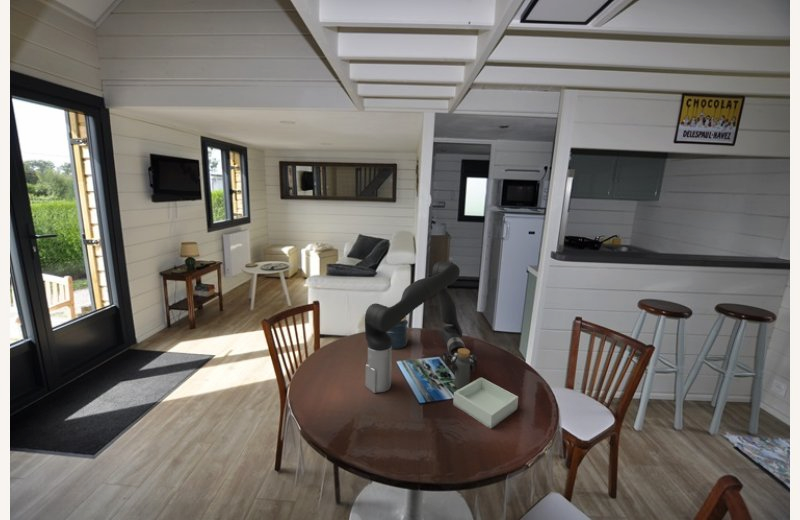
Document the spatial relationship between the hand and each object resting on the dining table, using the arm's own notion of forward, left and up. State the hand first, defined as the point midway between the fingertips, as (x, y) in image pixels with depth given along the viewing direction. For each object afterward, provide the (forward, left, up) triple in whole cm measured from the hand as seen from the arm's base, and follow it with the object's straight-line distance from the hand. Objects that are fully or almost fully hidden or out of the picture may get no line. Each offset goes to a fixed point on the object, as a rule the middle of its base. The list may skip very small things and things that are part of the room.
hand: (464, 369), depth 127 cm
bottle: (+2, +2, -9) cm, 9 cm away
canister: (+4, +47, -9) cm, 48 cm away
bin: (-2, -12, -9) cm, 15 cm away
